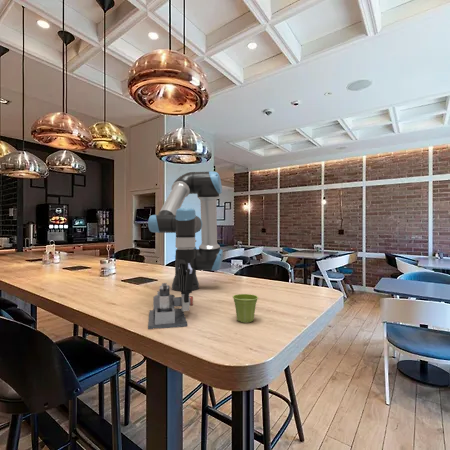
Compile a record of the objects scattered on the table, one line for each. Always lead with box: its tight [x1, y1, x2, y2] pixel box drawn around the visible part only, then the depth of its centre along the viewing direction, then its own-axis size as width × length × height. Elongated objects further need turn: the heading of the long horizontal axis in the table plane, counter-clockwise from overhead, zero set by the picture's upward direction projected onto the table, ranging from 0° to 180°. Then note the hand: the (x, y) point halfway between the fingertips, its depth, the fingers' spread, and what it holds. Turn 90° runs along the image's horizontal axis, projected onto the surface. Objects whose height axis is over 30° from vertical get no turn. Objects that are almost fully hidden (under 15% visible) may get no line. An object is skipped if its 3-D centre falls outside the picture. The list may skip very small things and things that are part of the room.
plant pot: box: [232, 293, 259, 324], centre depth 103 cm, size 9×9×9 cm
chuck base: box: [147, 307, 188, 330], centre depth 104 cm, size 13×19×5 cm
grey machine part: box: [152, 282, 194, 314], centre depth 109 cm, size 15×8×11 cm, turn 106°
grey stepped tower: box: [158, 282, 171, 312], centre depth 98 cm, size 4×6×13 cm, turn 15°
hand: (185, 310), depth 107 cm, fingers closed
